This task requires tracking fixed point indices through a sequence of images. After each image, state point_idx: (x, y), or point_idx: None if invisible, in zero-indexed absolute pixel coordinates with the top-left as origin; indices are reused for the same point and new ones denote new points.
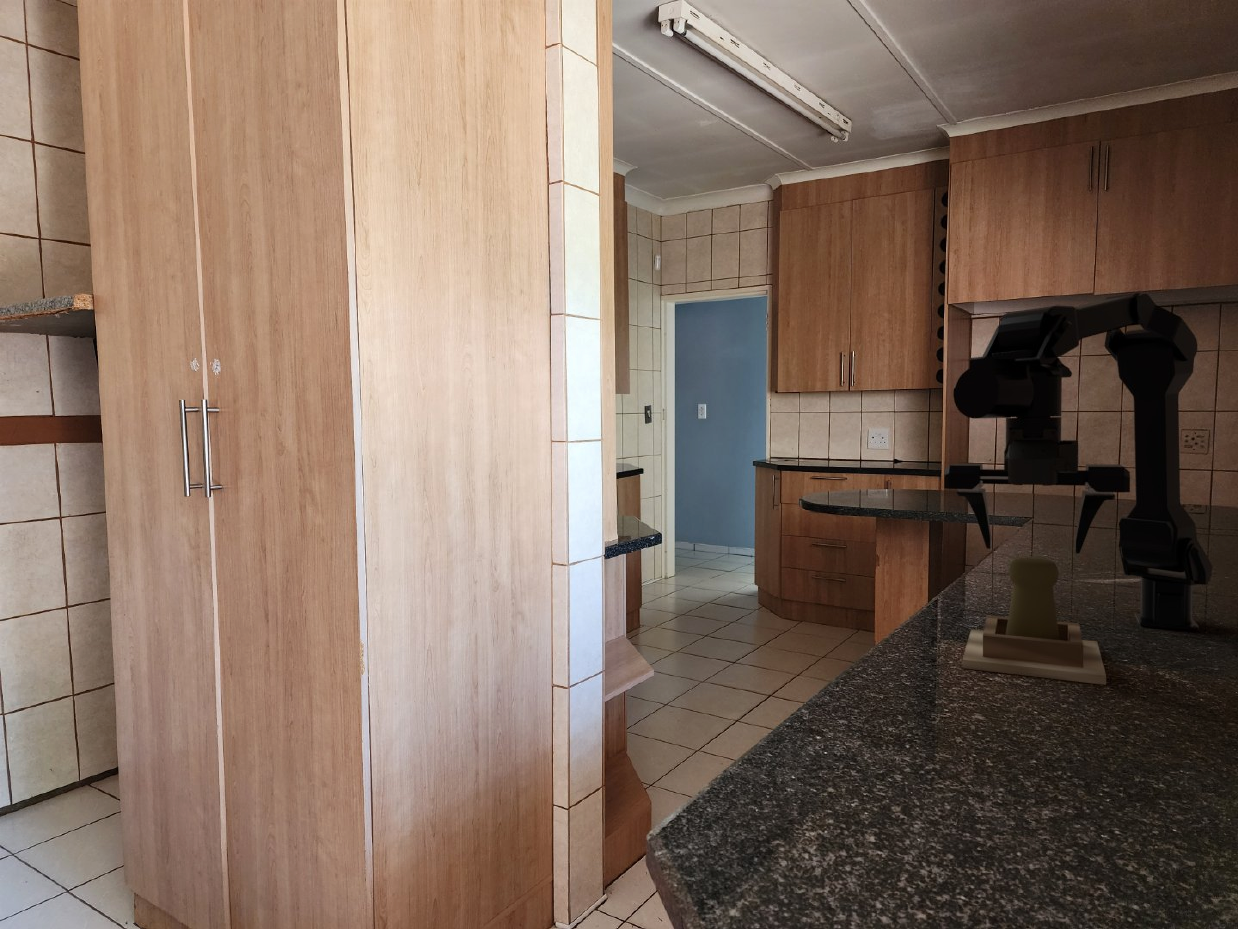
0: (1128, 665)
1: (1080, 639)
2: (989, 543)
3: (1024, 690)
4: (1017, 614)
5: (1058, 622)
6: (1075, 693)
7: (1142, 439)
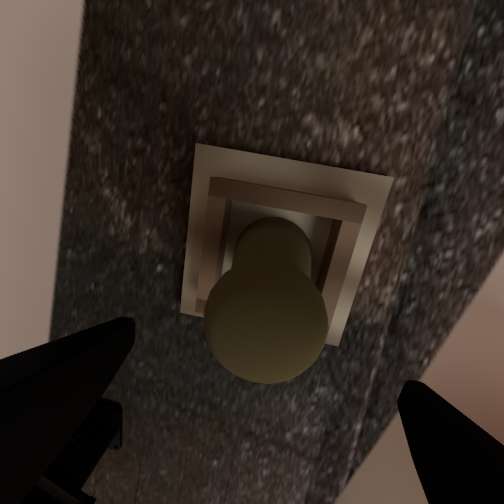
0: (158, 245)
1: (208, 215)
2: (424, 391)
3: (317, 82)
4: (302, 252)
5: None
6: (247, 90)
7: None
